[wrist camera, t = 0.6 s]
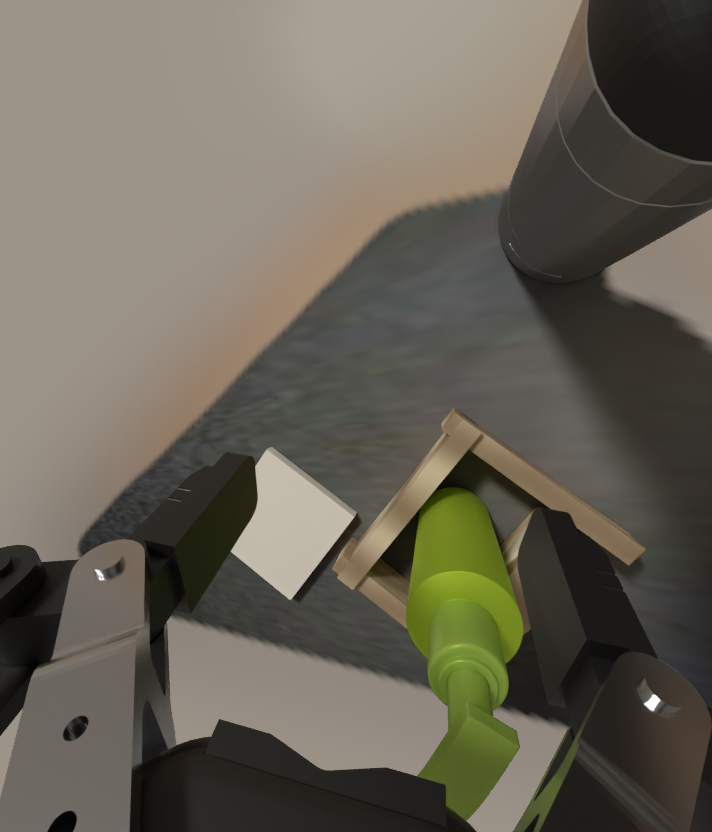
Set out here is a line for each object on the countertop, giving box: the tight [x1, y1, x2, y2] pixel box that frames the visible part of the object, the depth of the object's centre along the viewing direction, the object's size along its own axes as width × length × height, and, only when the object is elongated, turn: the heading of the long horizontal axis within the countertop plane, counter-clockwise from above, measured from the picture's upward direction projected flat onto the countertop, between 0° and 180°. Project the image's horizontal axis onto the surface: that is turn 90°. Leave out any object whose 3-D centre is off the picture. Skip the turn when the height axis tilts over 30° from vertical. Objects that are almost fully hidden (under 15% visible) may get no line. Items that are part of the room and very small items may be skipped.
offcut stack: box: [500, 510, 534, 635], centre depth 29 cm, size 11×5×4 cm, turn 145°
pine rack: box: [332, 407, 646, 629], centre depth 30 cm, size 17×16×4 cm
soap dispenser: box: [406, 487, 523, 821], centre depth 22 cm, size 6×7×20 cm
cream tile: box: [231, 447, 357, 600], centre depth 35 cm, size 11×10×1 cm
